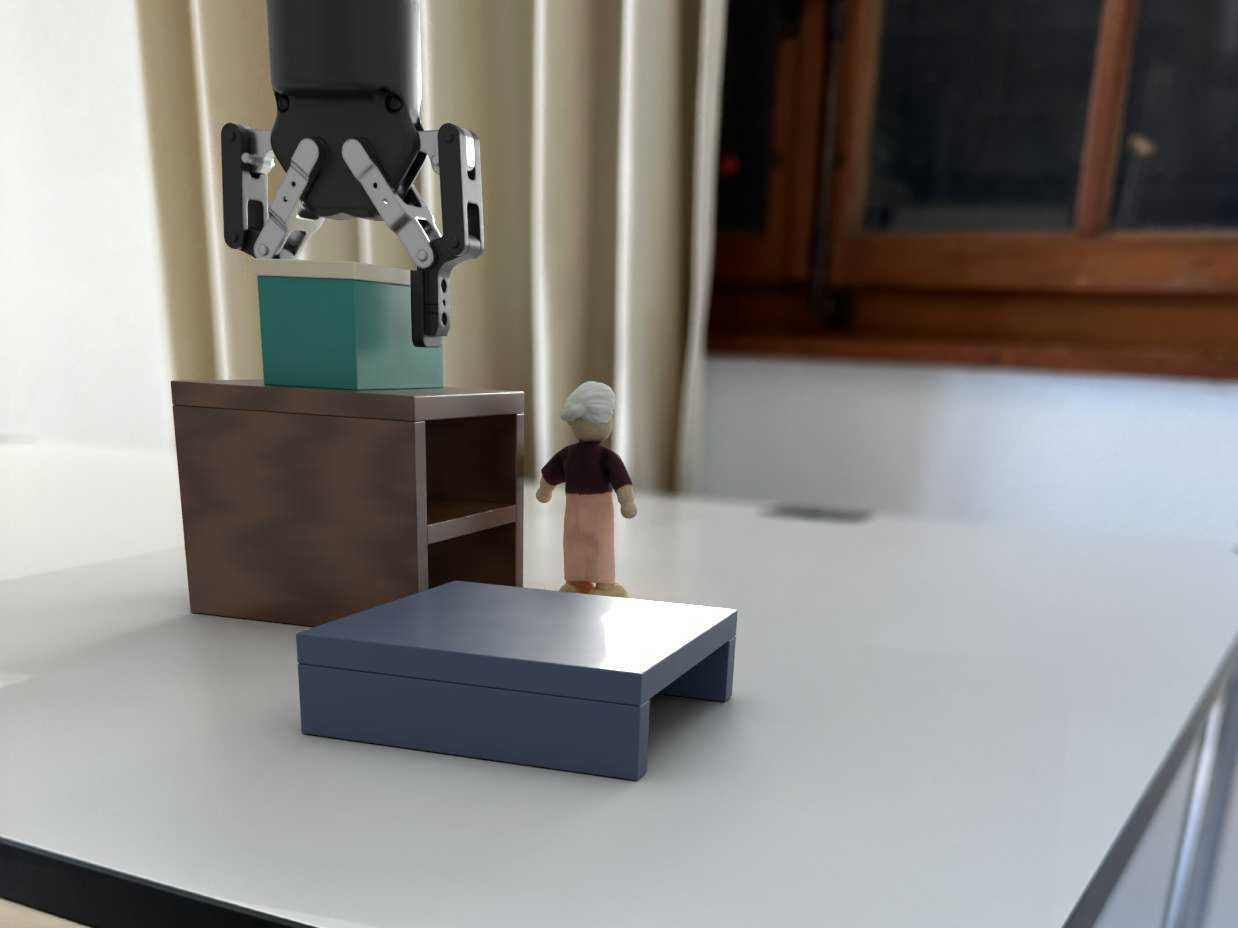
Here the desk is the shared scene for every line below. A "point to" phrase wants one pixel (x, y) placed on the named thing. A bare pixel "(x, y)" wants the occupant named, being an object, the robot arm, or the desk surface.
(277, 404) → the high shelf
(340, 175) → the robot arm
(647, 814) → the desk surface
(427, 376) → the box
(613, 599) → the low shelf
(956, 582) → the desk surface
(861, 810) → the desk surface
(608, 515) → the grandmother figurine
